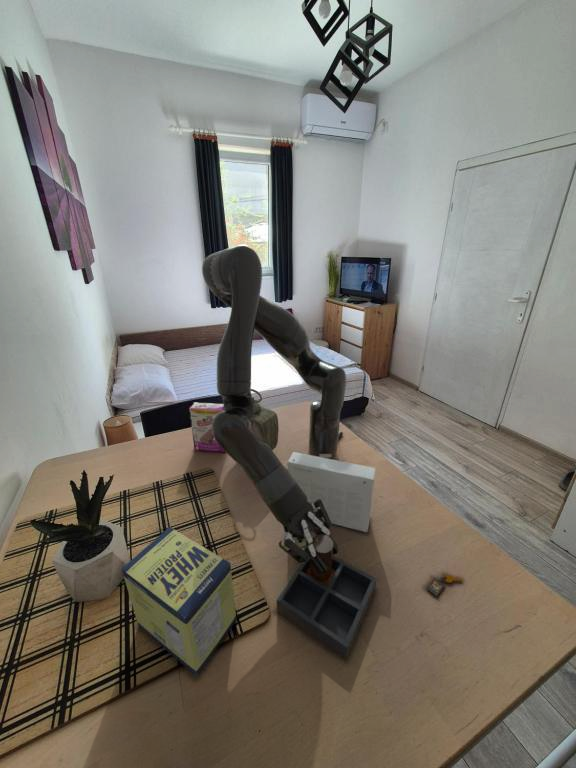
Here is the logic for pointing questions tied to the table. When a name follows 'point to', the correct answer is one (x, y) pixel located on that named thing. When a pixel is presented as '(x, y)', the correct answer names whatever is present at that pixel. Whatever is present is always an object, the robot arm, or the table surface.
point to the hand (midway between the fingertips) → (329, 561)
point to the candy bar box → (204, 425)
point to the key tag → (440, 584)
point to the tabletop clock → (265, 424)
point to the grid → (328, 604)
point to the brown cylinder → (323, 555)
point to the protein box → (182, 597)
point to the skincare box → (336, 488)
